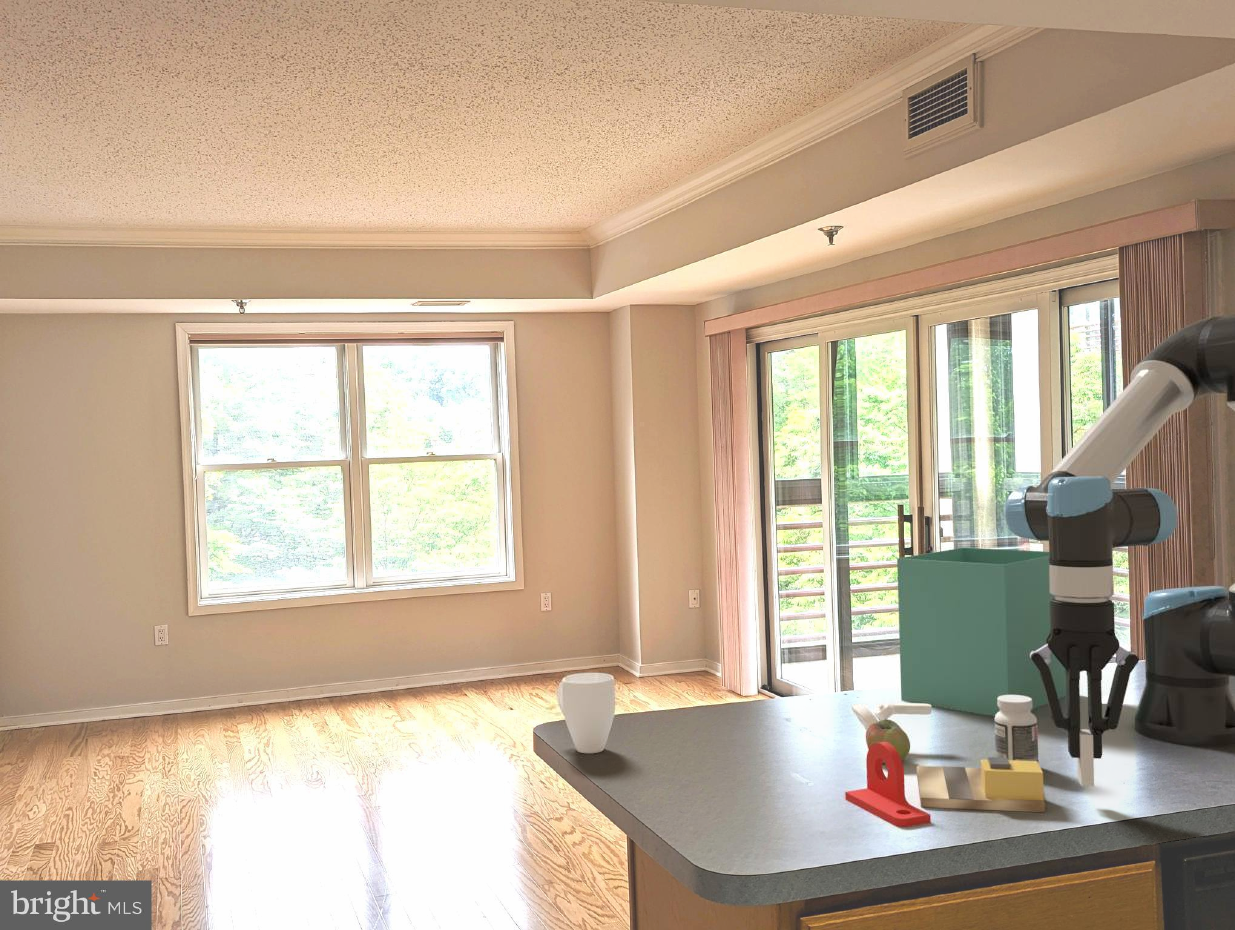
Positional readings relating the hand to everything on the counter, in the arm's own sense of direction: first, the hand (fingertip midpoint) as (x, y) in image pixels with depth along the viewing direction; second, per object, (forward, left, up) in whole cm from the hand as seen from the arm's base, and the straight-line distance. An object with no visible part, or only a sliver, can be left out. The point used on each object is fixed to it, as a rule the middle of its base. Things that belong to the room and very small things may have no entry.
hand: (1085, 782), depth 137 cm
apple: (+25, -17, -3) cm, 30 cm away
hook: (+24, -24, -3) cm, 33 cm away
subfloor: (+13, -4, -3) cm, 14 cm away
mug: (+71, -18, -3) cm, 74 cm away
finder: (+9, 0, -2) cm, 9 cm away
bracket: (+25, +5, -3) cm, 25 cm away
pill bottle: (+6, -16, -3) cm, 17 cm away
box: (+6, -59, -3) cm, 59 cm away
